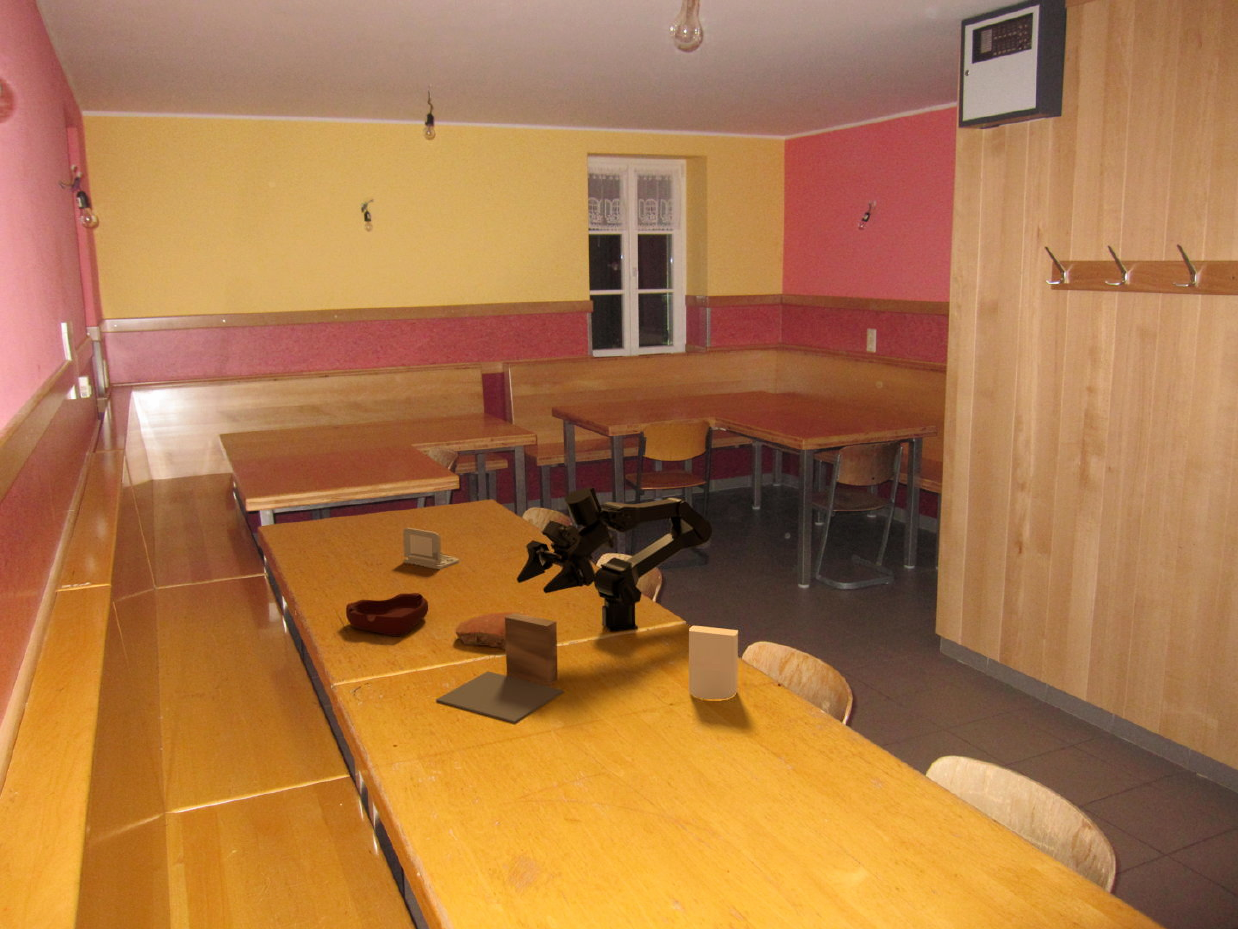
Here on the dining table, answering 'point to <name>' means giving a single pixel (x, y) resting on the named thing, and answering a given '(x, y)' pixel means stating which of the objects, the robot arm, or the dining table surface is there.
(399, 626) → the ashtray
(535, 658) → the brown wooden block
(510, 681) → the charcoal rubber mat
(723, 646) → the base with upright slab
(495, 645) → the ceramic shard
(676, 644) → the dining table surface
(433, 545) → the handheld gaming console
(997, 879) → the dining table surface
